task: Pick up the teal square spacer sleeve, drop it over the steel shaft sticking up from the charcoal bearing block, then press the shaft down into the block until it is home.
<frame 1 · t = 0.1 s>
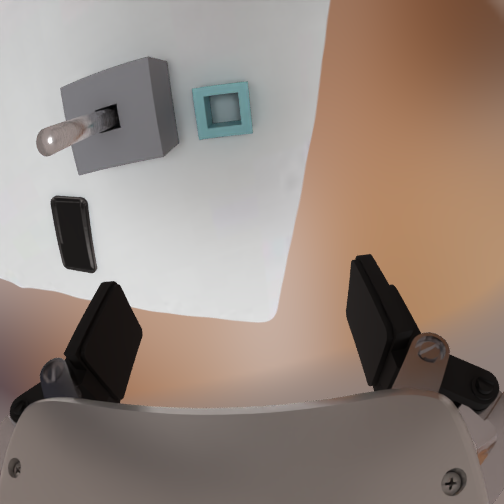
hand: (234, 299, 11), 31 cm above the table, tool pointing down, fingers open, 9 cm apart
bearing block: (132, 111, 34), on the table
phone: (75, 233, 45), on the table
spacer: (225, 107, 35), on the table
shaft: (86, 126, 23), point 13 cm above the table, slide at 5.0 cm
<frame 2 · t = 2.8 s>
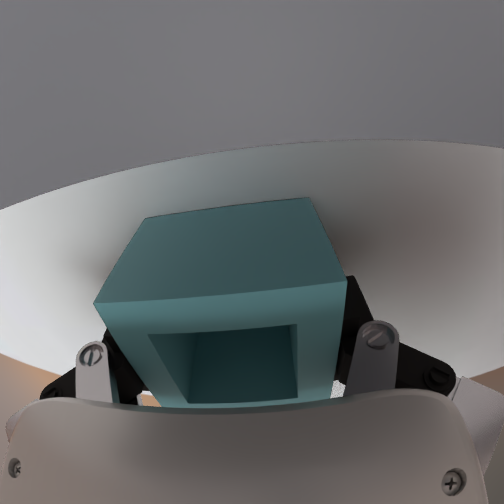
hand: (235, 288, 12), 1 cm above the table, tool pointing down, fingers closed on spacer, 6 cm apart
spacer: (236, 275, 12), on the table, touching gripper
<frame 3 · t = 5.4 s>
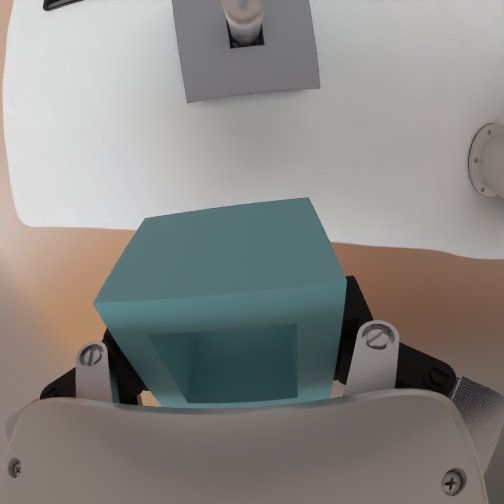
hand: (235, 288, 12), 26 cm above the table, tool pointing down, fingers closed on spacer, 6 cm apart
bearing block: (245, 44, 26), on the table
spacer: (236, 275, 12), point 25 cm above the table, touching gripper
shaft: (244, 19, 15), point 13 cm above the table, slide at 5.0 cm
when the fingers open (18 cm above the table, at t = 8.2 s): spacer drops 9 cm, resting on bearing block.
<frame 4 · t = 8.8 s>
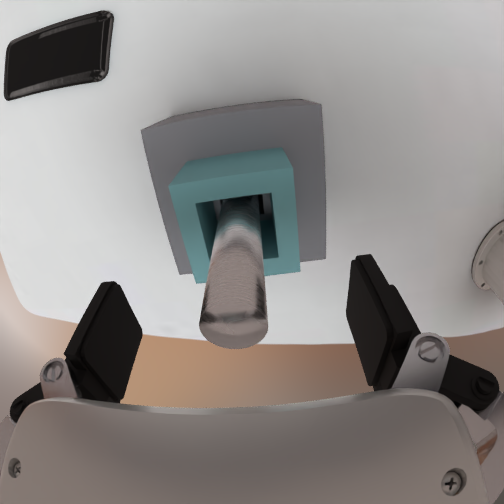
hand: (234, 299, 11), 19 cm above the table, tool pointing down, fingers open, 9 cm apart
bearing block: (242, 166, 27), on the table
phone: (54, 56, 19), on the table
spacer: (240, 197, 20), point 8 cm above the table, touching bearing block
shaft: (238, 231, 16), point 13 cm above the table, slide at 5.0 cm
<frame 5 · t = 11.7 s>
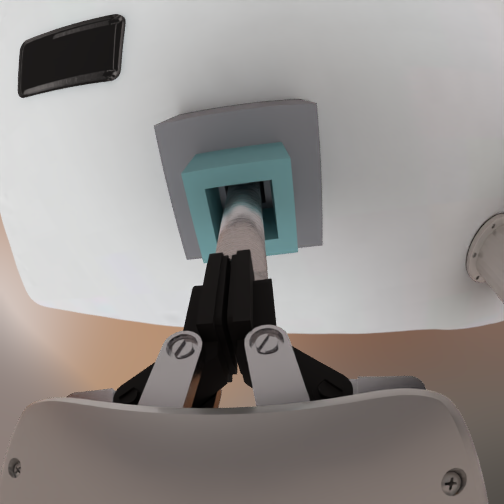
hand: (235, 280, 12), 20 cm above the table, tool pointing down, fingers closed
bearing block: (245, 161, 29), on the table
phone: (68, 56, 21), on the table
spacer: (244, 187, 22), point 8 cm above the table, touching bearing block
shaft: (243, 211, 18), point 13 cm above the table, slide at 4.5 cm, touching gripper
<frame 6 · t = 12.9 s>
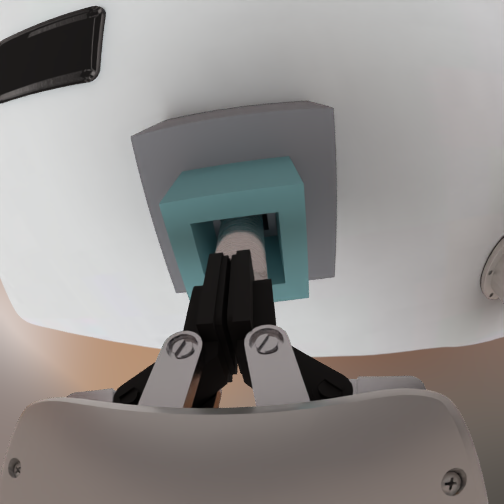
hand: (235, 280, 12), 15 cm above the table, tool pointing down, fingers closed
bearing block: (244, 174, 25), on the table
phone: (44, 56, 17), on the table
spacer: (242, 211, 18), point 8 cm above the table, touching bearing block
shaft: (242, 211, 18), point 8 cm above the table, slide at 0.0 cm, touching gripper
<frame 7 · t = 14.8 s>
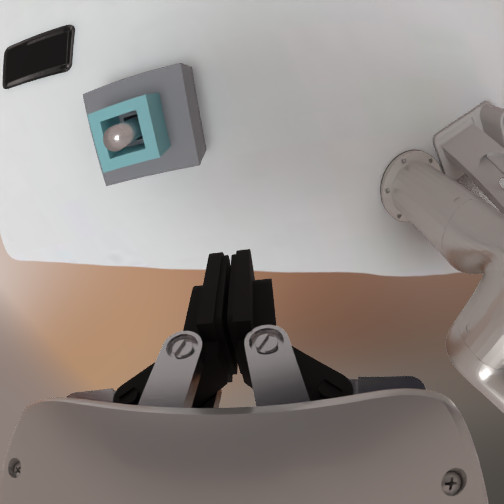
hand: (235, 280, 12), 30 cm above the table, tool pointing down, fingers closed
bearing block: (156, 118, 35), on the table
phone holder: (469, 140, 37), on the table
phone: (37, 57, 26), on the table
spacer: (138, 126, 28), point 8 cm above the table, touching bearing block
shaft: (138, 126, 28), point 8 cm above the table, slide at 0.0 cm
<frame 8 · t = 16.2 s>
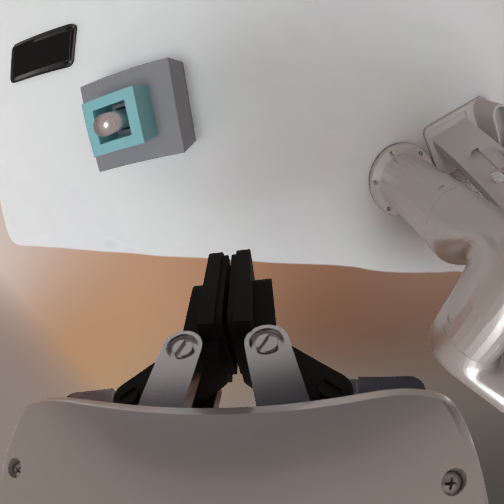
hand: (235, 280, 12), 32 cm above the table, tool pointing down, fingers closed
bearing block: (149, 110, 36), on the table
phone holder: (462, 134, 37), on the table
phone: (43, 53, 29), on the table
spacer: (129, 116, 29), point 8 cm above the table, touching bearing block
shaft: (129, 116, 30), point 8 cm above the table, slide at 0.0 cm
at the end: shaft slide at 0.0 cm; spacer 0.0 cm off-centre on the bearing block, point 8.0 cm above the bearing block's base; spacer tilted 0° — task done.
